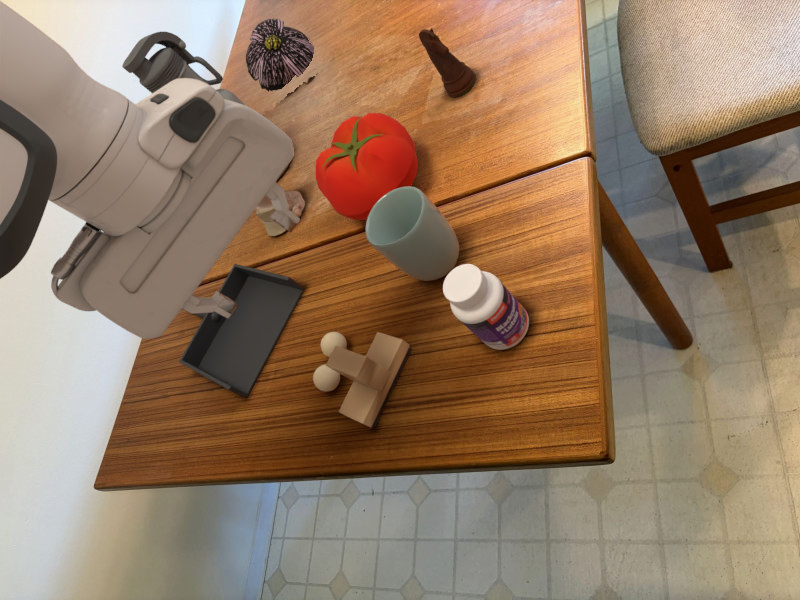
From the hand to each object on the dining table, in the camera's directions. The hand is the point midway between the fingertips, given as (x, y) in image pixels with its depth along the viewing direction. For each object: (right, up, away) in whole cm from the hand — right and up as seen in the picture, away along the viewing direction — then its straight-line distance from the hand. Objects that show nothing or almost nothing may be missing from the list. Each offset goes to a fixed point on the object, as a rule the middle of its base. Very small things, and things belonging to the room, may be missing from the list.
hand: (262, 266), depth 50 cm
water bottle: (-10, +21, +51) cm, 56 cm away
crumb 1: (+4, -8, +18) cm, 20 cm away
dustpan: (-14, -7, +36) cm, 39 cm away
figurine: (-5, +11, +40) cm, 42 cm away
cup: (+17, +2, +17) cm, 24 cm away
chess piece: (+21, +28, +30) cm, 46 cm away
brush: (+10, -12, +13) cm, 21 cm away
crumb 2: (+4, -12, +16) cm, 21 cm away
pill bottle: (+23, -6, +7) cm, 25 cm away
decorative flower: (-8, +43, +62) cm, 76 cm away
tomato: (+11, +13, +29) cm, 34 cm away
